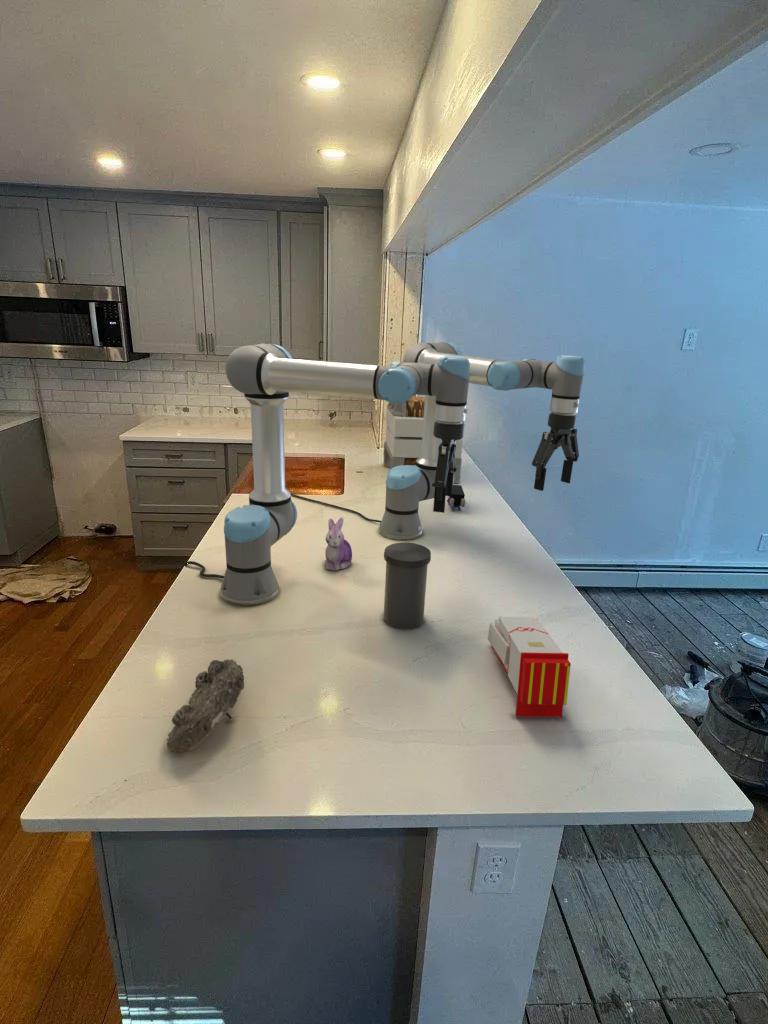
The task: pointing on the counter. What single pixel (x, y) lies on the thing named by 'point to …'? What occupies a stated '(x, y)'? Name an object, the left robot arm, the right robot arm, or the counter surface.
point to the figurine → (337, 547)
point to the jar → (404, 596)
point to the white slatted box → (409, 435)
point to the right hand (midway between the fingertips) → (552, 485)
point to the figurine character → (456, 497)
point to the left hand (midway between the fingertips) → (442, 503)
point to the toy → (531, 665)
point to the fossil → (206, 705)
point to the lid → (407, 555)
